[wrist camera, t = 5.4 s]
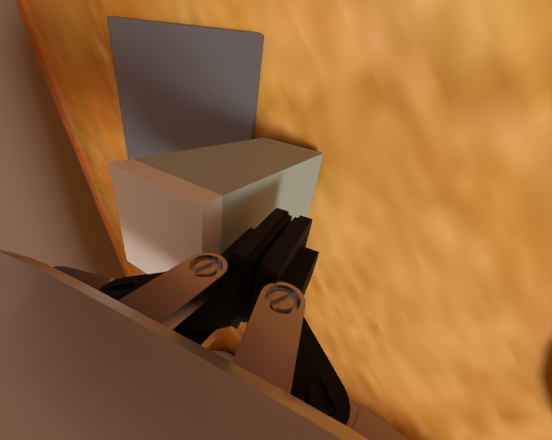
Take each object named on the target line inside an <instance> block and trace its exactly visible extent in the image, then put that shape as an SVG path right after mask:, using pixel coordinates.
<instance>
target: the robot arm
mask: <svg viewBox="0 0 552 440" xmlns="http://www.w3.org/2000/svg"><path fill="white" fill-rule="evenodd" d="M291 220H292V216H291V215H289V212H288V211H286V210H283V209H280V208H276V209H275V210H274V211H273V212H272V213H271V214H269V215H268V216H267V217H266V218H265V219H264V220H263V221H262V222H261V223H260V224H259V225H258V226H257V227H256V228H255V229H253V228H249V229H248V230H247V231H246V232H245V233H244V234H242V235H241V236H240V237H239V238H238V239H237V240H236V241H235V242H234V243H233V244H232V245H231V246H229V247H228V248H227V249H226V250H225V251H224V252H223V253H222V254H221V255H218V254H216V253H210V252H207V253H199V254H196V255H193V256H191V257H190V258H188V259H186V260H185V261H183V262H181V263H180V264H178V265H176V266H175V267H173V268H171V269H170V270H168V271H166V272H159V273H152V274H145V275H138V276H131V277H124V278H119V279H116V280H113V277H109V276H104V275H100V274H95V273H92V272H87V271H83V270H78V269H74V268H70V267H64V266H54V267H51V266H49V265H47V264H45V263H43V262H40V261H38V260H36V259H33V258H30V257H27V256H24V255H21V254H18V253H14V252H10V251H5V250H1V249H0V440H408V439H406V438H405V437H404V436H403V435H401V434H400V433H399V432H397V431H396V430H395V429H394V428H392V427H391V426H390V425H388V424H387V423H386V422H385V421H383V420H382V419H381V418H379V417H378V416H377V415H376V414H374V413H373V412H372V411H371V410H369V409H368V408H367V407H365V406H364V405H363V404H362V405H361V407H359V406H358V405H357V404H355V403H354V402H353V401H352V400H350V399H349V397H348V395H347V392H346V390H345V388H344V386H343V384H342V382H341V381H340V379H339V377H338V375H337V374H336V372H335V370H334V368H333V367H332V365H331V363H330V361H329V360H328V358H327V356H326V355H325V353H324V351H323V349H322V348H321V346H320V344H319V342H318V341H317V339H316V337H315V335H314V334H313V332H312V330H311V328H310V327H309V325H308V323H307V321H306V320H305V318H304V311H305V298H304V294H305V291H306V289H307V286H308V284H309V281H310V279H311V276H312V273H313V270H314V267H315V264H316V261H317V257H318V254H319V252H317V251H314V250H312V249H309V248H306V247H305V246H306V243H307V239H308V235H309V231H310V228H311V224H312V219H310V218H307V217H304V216H301V215H300V216H299V218H297V217H294V218H293V220H292V221H291ZM241 322H244V323H246V322H247V326H246V329H245V332H244V334H243V336H242V339H241V341H240V344H239V346H238V349H237V351H236V353H235V356H234V358H233V361H232V362H230V361H229V360H227V359H225V358H223V357H221V356H219V355H218V354H216V353H214V352H212V351H210V350H208V349H207V348H208V347H209V346H210V345H211V344H212V343H213V342H214V341H215V340H216V338H217V337H218V336H219V335H220V333H221V332H222V329H223V328H225V327H229V326H232V327H234V328H236V329H237V328H238V326H239V325H240V323H241Z"/></svg>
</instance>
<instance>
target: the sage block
mask: <svg viewBox="0 0 552 440" xmlns="http://www.w3.org/2000/svg"><path fill="white" fill-rule="evenodd" d="M323 154H324V153H321V152H318V151H314V150H310V149H307V148H303V147H299V146H296V145H292V144H288V143H284V142H281V141H277V140H273V139H270V138H266V137H264V138H258V139H251V140H245V141H239V142H233V143H227V144H221V145H215V146H209V147H202V148H196V149H190V150H184V151H178V152H172V153H166V154H159V155H153V156H147V157H141V158H135V159H129V160H123V161H117V162H110V163H108V164H109V169H110V174H111V179H112V185H113V190H114V195H115V200H116V205H117V211H118V216H119V221H120V226H121V232H122V237H123V242H124V247H125V253H126V258H127V261H128V262H130V263H131V264H133V265H134V266H136V267H137V268H139V269H140V270H142V271H144V272H145V273H147V274H152V273H159V272H166V271H168V270H170V269H171V268H173V267H175V266H176V265H178V264H180V263H181V262H183V261H185V260H186V259H188V258H190V257H191V256H193V255H196V254H199V253H207V252H210V253H216V254H218V255H221V254H222V253H223V252H224V251H225V250H226V249H227V248H228V247H229V246H231V245H232V244H233V243H234V242H235V241H236V240H237V239H238V238H239V237H240V236H241V235H242V234H244V233H245V232H246V231H247V230H248V229H249V228H253V229H255V228H256V227H257V226H258V225H259V224H260V223H261V222H262V221H263V220H264V219H265V218H266V217H267V216H268V215H269V214H271V213H272V212H273V211H274V210H275V209H276V208H280V209H283V210H286V211H288V212H289V215H291V216H292V220H293V218H294V217H297V218H299V216H300V215H301V216H304V217H305V216H307V215H308V214H309V210H310V206H311V202H312V198H313V194H314V190H315V186H316V182H317V178H318V174H319V170H320V166H321V162H322V158H323ZM292 220H291V221H292Z"/></svg>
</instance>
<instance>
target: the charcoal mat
mask: <svg viewBox="0 0 552 440" xmlns="http://www.w3.org/2000/svg"><path fill="white" fill-rule="evenodd" d="M107 21H108V28H109V34H110V41H111V48H112V55H113V61H114V68H115V75H116V81H117V88H118V95H119V101H120V108H121V115H122V121H123V128H124V135H125V142H126V148H127V155H128V160H129V159H135V158H141V157H147V156H153V155H159V154H166V153H172V152H178V151H184V150H190V149H196V148H202V147H209V146H215V145H221V144H227V143H233V142H239V141H245V140H251V139H253V138H254V128H255V118H256V109H257V99H258V89H259V80H260V70H261V60H262V50H263V41H264V35H263V34H261V33H252V32H243V31H234V30H226V29H217V28H208V27H199V26H190V25H181V24H173V23H164V22H155V21H146V20H137V19H129V18H120V17H111V16H107Z"/></svg>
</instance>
